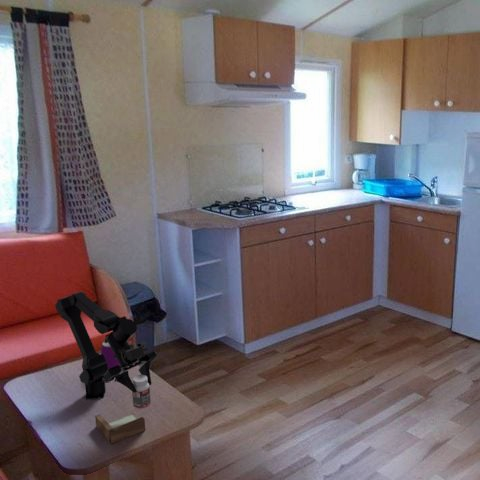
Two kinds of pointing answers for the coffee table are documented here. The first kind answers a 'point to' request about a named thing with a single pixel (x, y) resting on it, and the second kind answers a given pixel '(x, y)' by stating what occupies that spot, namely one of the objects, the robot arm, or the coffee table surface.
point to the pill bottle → (141, 392)
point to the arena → (120, 427)
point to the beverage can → (109, 355)
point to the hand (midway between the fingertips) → (143, 388)
